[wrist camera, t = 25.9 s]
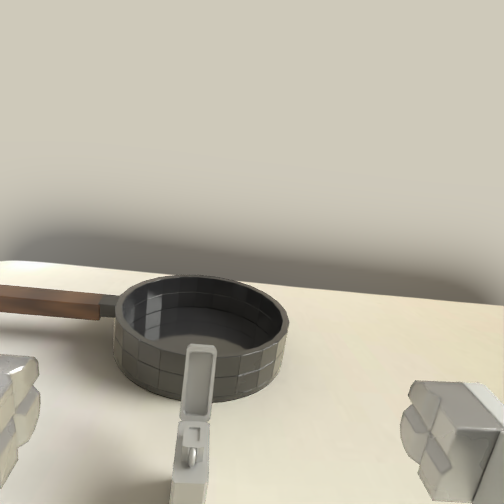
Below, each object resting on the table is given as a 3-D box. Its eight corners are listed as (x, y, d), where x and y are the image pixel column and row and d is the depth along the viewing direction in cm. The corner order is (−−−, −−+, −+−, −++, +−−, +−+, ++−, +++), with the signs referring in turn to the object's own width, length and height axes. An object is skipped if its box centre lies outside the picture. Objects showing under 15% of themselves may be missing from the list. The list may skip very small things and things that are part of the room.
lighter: (199, 548, 21) (217, 420, 19) (164, 547, 21) (178, 418, 18) (203, 442, 28) (217, 337, 25) (177, 440, 28) (188, 335, 25)
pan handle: (121, 310, 38) (122, 295, 38) (116, 322, 36) (116, 306, 35) (-7, 299, 37) (-8, 282, 36) (-21, 310, 35) (-22, 293, 34)
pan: (271, 315, 47) (277, 282, 45) (294, 409, 32) (303, 364, 31) (132, 302, 45) (133, 268, 44) (91, 395, 31) (92, 348, 29)
